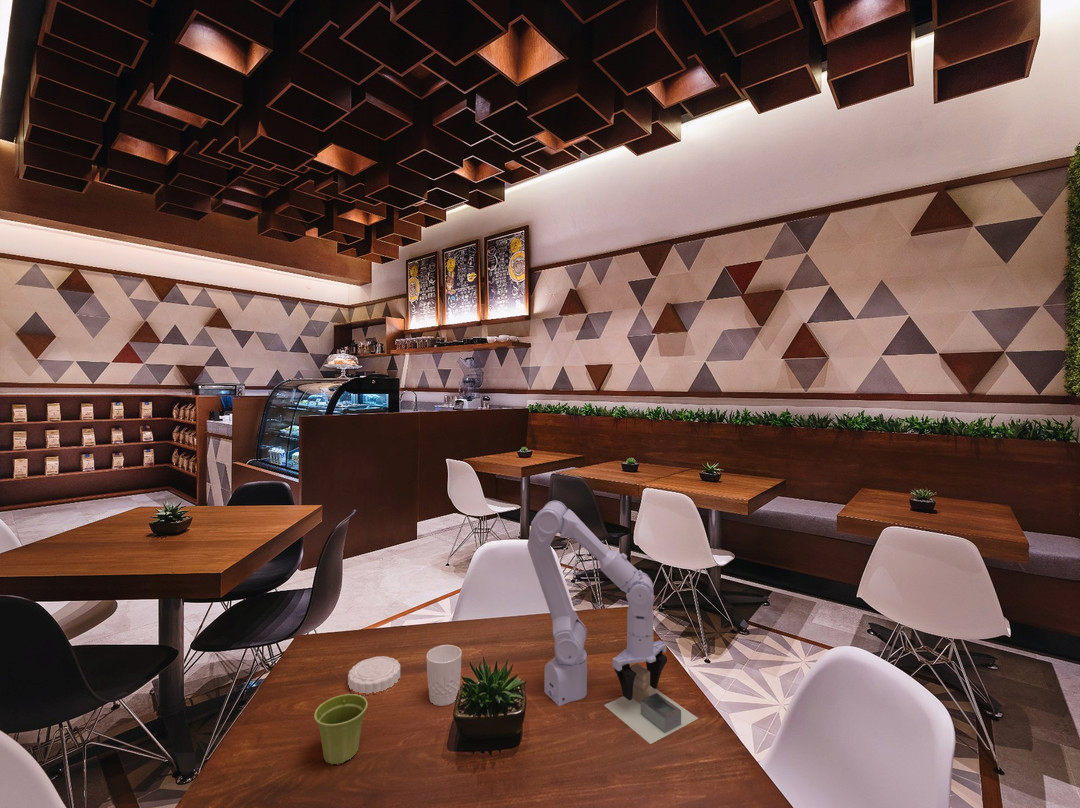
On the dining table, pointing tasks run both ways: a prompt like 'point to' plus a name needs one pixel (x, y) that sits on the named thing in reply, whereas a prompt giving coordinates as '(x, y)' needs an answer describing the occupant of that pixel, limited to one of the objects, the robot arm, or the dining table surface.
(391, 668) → the mooncake
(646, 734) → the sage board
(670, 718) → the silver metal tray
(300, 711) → the dining table surface
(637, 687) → the wooden block
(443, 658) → the white cup
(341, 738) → the plant pot
